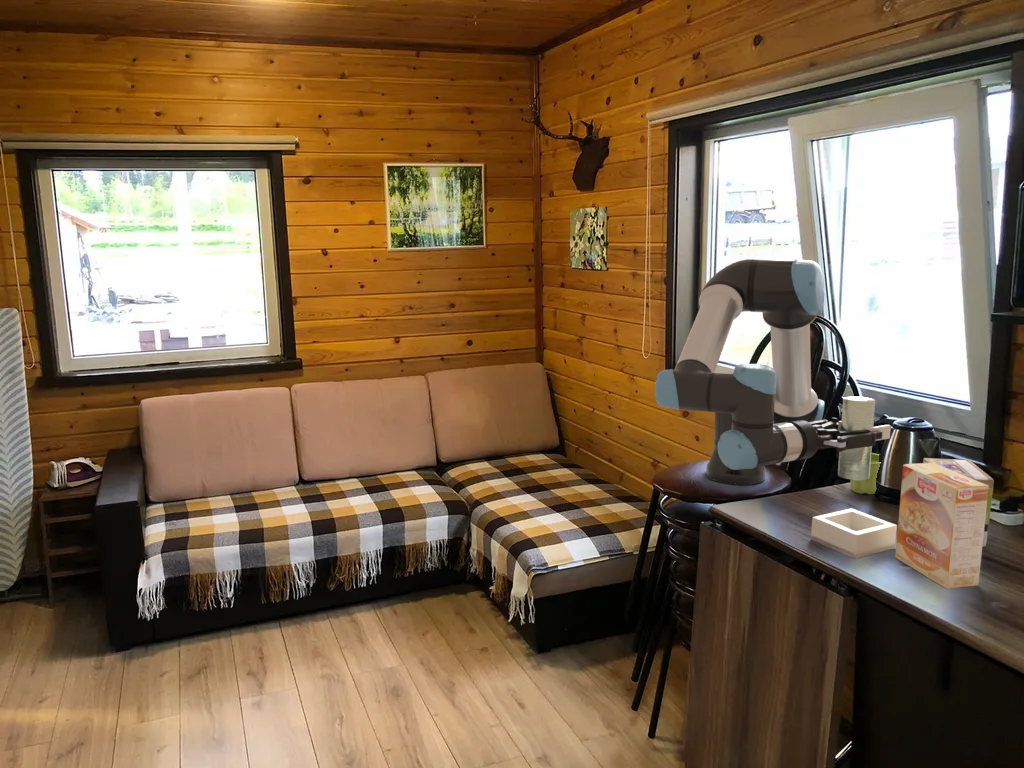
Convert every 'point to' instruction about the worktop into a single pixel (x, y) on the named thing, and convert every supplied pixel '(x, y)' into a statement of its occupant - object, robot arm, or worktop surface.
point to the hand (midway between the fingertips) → (874, 427)
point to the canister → (855, 418)
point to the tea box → (974, 473)
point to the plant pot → (870, 483)
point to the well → (853, 533)
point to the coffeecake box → (941, 524)
